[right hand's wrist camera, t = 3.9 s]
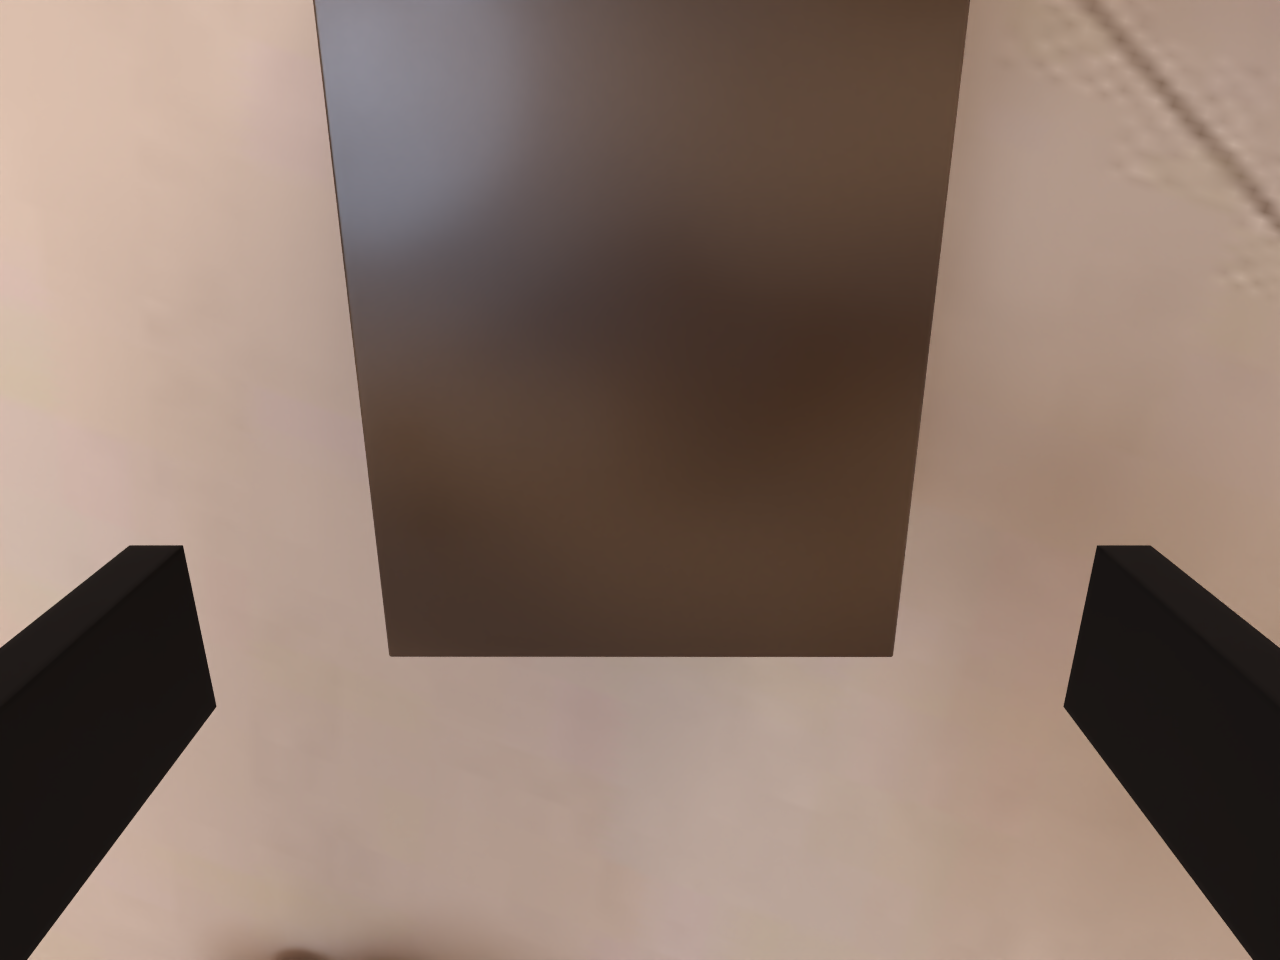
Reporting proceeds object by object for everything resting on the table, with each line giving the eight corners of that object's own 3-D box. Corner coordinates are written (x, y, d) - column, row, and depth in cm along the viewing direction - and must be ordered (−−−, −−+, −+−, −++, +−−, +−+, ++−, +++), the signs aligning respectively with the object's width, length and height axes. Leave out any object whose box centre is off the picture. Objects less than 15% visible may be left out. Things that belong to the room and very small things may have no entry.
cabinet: (427, -108, 23) (278, -288, 14) (855, -108, 23) (1004, -289, 14) (471, 491, 29) (389, 657, 20) (810, 491, 29) (893, 658, 20)
